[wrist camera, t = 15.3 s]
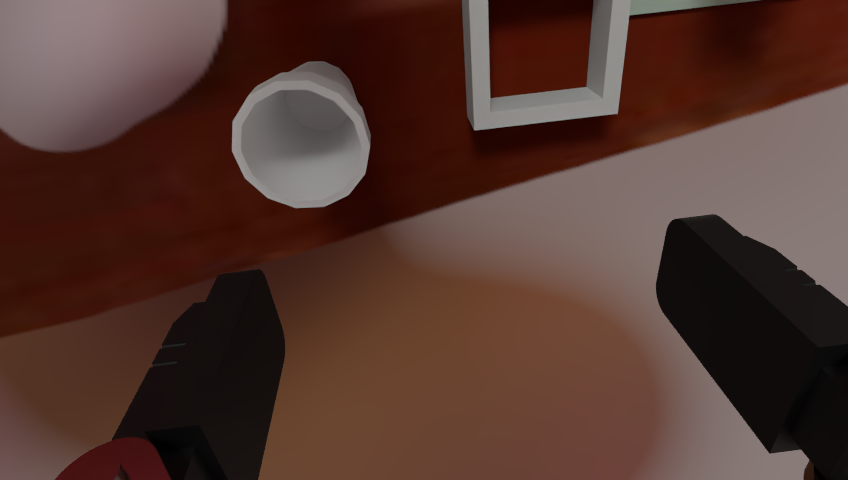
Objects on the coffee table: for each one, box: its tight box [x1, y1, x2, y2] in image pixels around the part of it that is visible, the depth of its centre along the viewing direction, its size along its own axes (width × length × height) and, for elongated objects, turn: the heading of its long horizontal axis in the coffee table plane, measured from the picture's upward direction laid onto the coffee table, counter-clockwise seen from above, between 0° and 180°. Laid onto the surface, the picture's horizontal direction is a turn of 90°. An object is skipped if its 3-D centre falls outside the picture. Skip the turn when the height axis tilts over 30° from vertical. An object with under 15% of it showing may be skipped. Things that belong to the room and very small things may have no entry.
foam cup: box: [232, 61, 371, 208], centre depth 40 cm, size 10×9×13 cm
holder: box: [462, 0, 631, 131], centre depth 42 cm, size 13×13×4 cm
